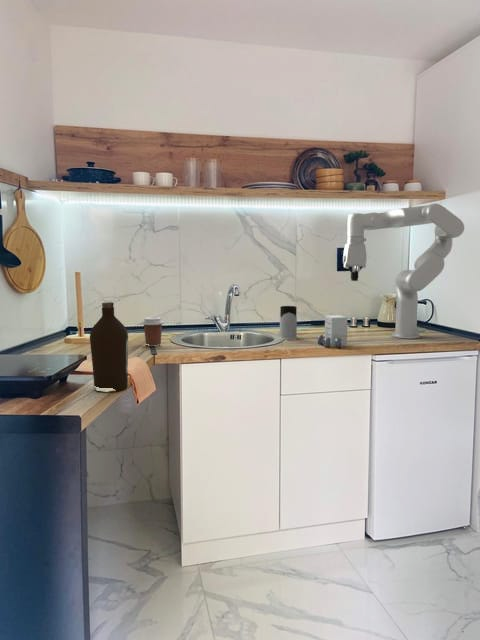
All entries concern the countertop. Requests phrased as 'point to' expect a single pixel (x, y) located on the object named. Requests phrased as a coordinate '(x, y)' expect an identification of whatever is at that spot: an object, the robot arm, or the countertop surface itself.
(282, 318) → the glass holder
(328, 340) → the stub cradle
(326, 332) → the supplement box
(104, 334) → the olive oil
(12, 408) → the countertop surface
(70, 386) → the countertop surface
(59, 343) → the countertop surface
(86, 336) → the countertop surface
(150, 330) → the coffee cup
